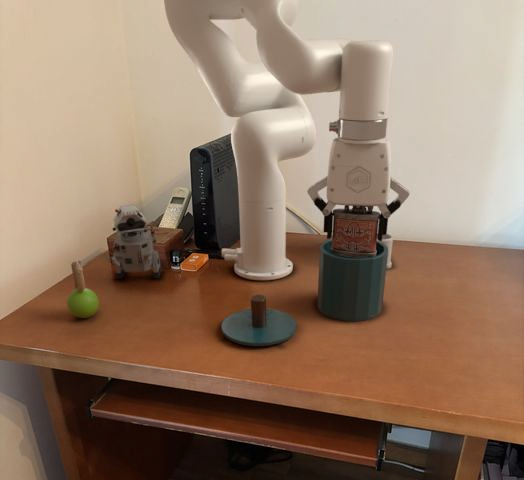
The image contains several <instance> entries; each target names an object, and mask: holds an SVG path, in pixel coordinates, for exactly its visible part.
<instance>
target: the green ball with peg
mask: <svg viewBox="0 0 524 480" xmlns="http://www.w3.org/2000/svg"><path fill="white" fill-rule="evenodd" d="M81 263H82V260H81V259H78V260H73V261H72V262H71V264H70V266H71V271H72V275H73V277H74V287H75V289H73V290H72V291H71V292H70V293H69V295H68V296H67V300H66V305H67V309H68V311H69V312H70V314H72V315H73V316H74V317H76V318H79V319H87V318H91V317H93V316H94V315H95V314H96V313H97V312H98V310H99V305H100V301H99V300H100V299H99V298H98V295H97V294H96V293H95V292H94V291H93V290H92V289H90V288H86V281H85V277H84V272H83V271H84V269H83V267H82V265H81Z"/></svg>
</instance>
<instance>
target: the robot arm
mask: <svg viewBox="0 0 524 480" xmlns="http://www.w3.org/2000/svg"><path fill="white" fill-rule="evenodd" d="M163 3H164V10H165V15H166V19H167V22H168V25H169V28H170V30H171V32H172V34H173V36H174V38H175V40H176V41H177V43H178V44H179V45H180V47H181V48H182V49H183V51H184V52H185V53H186V54H187V57H189V59H190V60H191V61H192V63H193V64H194V67H196V69H197V71H198V74H199V75H200V77H201V79H202V81H203V83H204V84H205V86H206V88H207V89H208V91H209V93H210V95H211V97H212V98H213V100H214V102H215V104H216V105H217V107H218V108H219V110H220V111H221V112H222V113H223V114H224V116H226V117H230V118H237V119H236V120H235V121H234V123H233V126H232V128H231V133H230V141H231V147H232V152H233V157H234V162H235V167H236V175H237V191H238V211H239V212H238V213H239V216H238V217H239V237H240V238H239V239H240V247H236V249H235V248H234V249H232V248H221V258H224V259H223V260H224V261H227V262H230V261H231V262H232V261H233V262H235V263H234V265H233V271H234V272H235V274H236V275H238V276H239V277H240V278H243V279H247V280H252V281H271V280H272V281H273V280H279V279H282V278H285V277H287V276H288V275H290V274H291V273H292V272H293V270H294V269H293V266H294V263H293V262H292V261H291V260H290V259H288V258H287V257H286V256H287V255H286V252H287V250H286V249H287V248H286V245H287V243H286V242H287V240H286V239H287V236H286V235H287V233H286V232H287V186H286V181H285V178H284V176H283V174H282V172H281V170H280V168H279V165H278V163H279V162H282V161H287V160H292V159H296V158H300V157H303V156H305V155H307V154H308V153H310V152H311V151H312V150H313V148H314V146H315V144H316V140H317V128H316V124H315V121H314V118H313V115H312V113H311V112H310V109H309V108H308V106H307V104H306V103H305V101H304V100H303V97H302V96H304V95H305V96H307V95H313V94H322V93H335V92H339V105H338V109H339V110H338V119H337V120H336V121H335V120H334V121H329V126H328V132H333V133H335V134H336V135H337V137H336V138H334V139H332V143H331V147H330V151H329V160H328V168H327V175H326V176H325V177H323V178H321V179H320V180H318V181H317V182H315V183H314V184H312V185H310V186H309V187H308V188H307V191H306V192H307V195H308V196H309V197H310V199H311V200H312V202H313V204H314V206H315V207H316V208H317V209H318V210H319V211H320V212H321V213H322V215H323V233H326V240H329V239H332V236H333V218H334V216H333V210H334V209H335V208H336V206H337V205H338V206H345V205H356V206H374V207H377V208H378V210H379V212H380V219H379V221H378V231H377V233H378V240H379V241H382V235H386V234H388V233H387V232H388V223H389V218H390V217H391V216H392V215H393V214H394V213H396V211H397V210H399V209H400V208H401V206H402V205H403V203H404V202H405V201H406V200H407V199H408V198H409V196H410V191H409V189H407V188H406V187H405V186H404V185H402V184H400V182H398V181H397V180H395V178H393V177H392V176H391V175H392V145H391V140H390V139H389V138H387V130H388V129H387V128H388V117H389V109H390V97H391V86H392V77H393V76H392V75H393V66H394V47H393V45H392V44H391V43H390V42H389V41H386V40H353V39H349V38H313V39H310V38H309V39H303V38H302V37H301V36H299V35H298V34H297V33H296V32H295V31H294V30H293V29H292V28H291V27H292V26H293V24H294V22H295V21H296V18H297V16H298V13H299V9H300V8H299V7H300V0H163ZM242 19H245V20H246V21H247V22H248V23H249V24H250V26H252V28H254V30H255V31H256V35H255V36H256V46H257V51H258V55H259V58H260V60H261V61H249V60H247V59H245V58H244V57H242V56H243V55H241V53H240V51H238V49H237V47H236V45H235V43H234V42H233V40H232V39H231V38H230V36H229V35H228V34H227V33H226V32H225V31H224V30H223V29H222V28H220V27H219V26H218V25H216V24H215V23H214V22H213V20H214V21H215V20H216V21H218V20H219V21H221V20H222V21H223V20H225V21H226V20H228V21H229V20H231V21H233V20H242ZM301 95H302V96H301ZM324 188H326V200H327V202H326V201H325V200H324V199H323V198H322V197H321V195H320V194H319V192H320V191H321V190H323V189H324ZM390 190H392V191H394V192H395V193H396V194H397V196H396V198H395V199H394V200H392V201H391V202H390V203H389V204H388V200H389V199H390V198H389V197H390Z"/></svg>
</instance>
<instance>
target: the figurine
mask: <svg viewBox="0 0 524 480" xmlns="http://www.w3.org/2000/svg"><path fill="white" fill-rule="evenodd" d="M114 212H115V213H116V215H115V216H114V218H113V224H114V227H112V229H111V230H112V231H113V232H117V234H116V236H115V239H114V241H113V243H112V244H113V245H112V249H113V251H114V252H113V253H112V254H113V255H112V257H111V261H112V264H114V266H115V278H116V279H117V280H122V279H123V278H124V276H125V274H126V273H145V272H148V271H149V270H152V279H160V276H161V274H162V270H163V269H162V265H161V261H160V254H159V250H155V249H154V248H155V247H154V243H155V244H156V243H157V237H156V231H155V227H154V226H152V225H151V224H148V222H147V219H146V217H145V215H144V213H142V212H141V211H140V210H139V209H138V208H137V207H136V206H135V205H134V204H127V205H126V204H125V205H120V206H119V207H118V208H115V209H114ZM148 227H149V229H147V228H148Z"/></svg>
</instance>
